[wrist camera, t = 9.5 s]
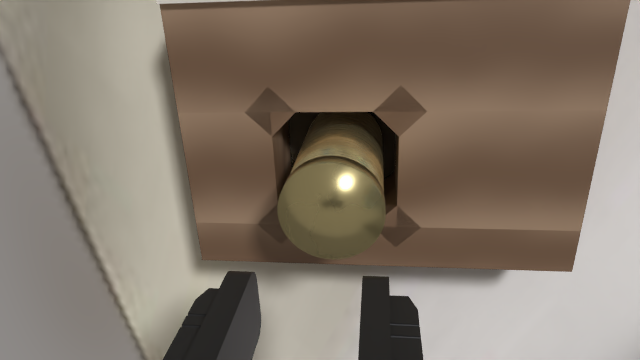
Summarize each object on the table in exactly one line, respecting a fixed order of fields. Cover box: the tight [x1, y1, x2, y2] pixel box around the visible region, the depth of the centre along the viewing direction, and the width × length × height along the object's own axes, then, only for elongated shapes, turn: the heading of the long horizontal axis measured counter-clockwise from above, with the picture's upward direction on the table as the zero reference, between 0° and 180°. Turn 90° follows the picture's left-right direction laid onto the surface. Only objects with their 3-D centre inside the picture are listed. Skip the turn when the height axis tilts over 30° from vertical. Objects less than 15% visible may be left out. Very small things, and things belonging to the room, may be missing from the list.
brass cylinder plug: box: [277, 112, 386, 260], centre depth 22 cm, size 4×4×8 cm
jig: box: [156, 0, 630, 272], centre depth 22 cm, size 13×18×4 cm
